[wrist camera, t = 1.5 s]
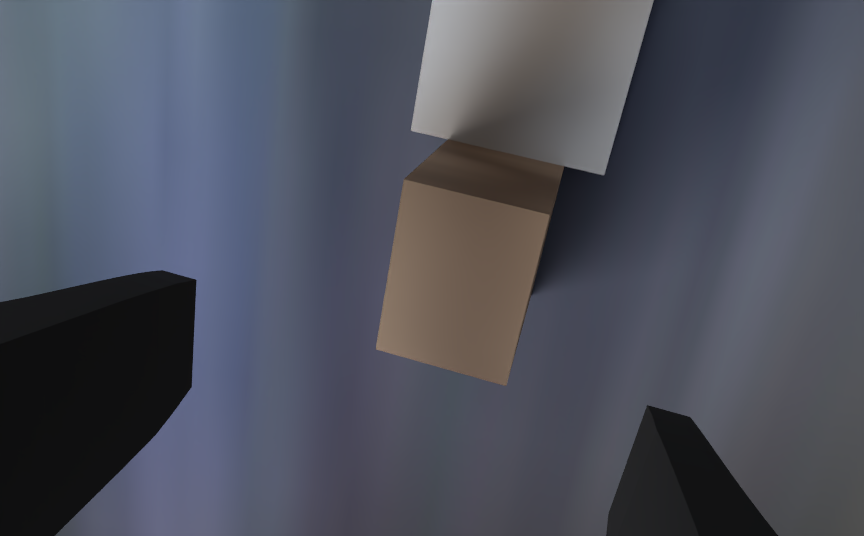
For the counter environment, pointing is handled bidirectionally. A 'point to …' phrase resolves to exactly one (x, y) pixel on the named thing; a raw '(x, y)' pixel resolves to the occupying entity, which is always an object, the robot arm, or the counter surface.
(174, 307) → the robot arm
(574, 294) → the counter surface
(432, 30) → the two-tone stacked blocks
